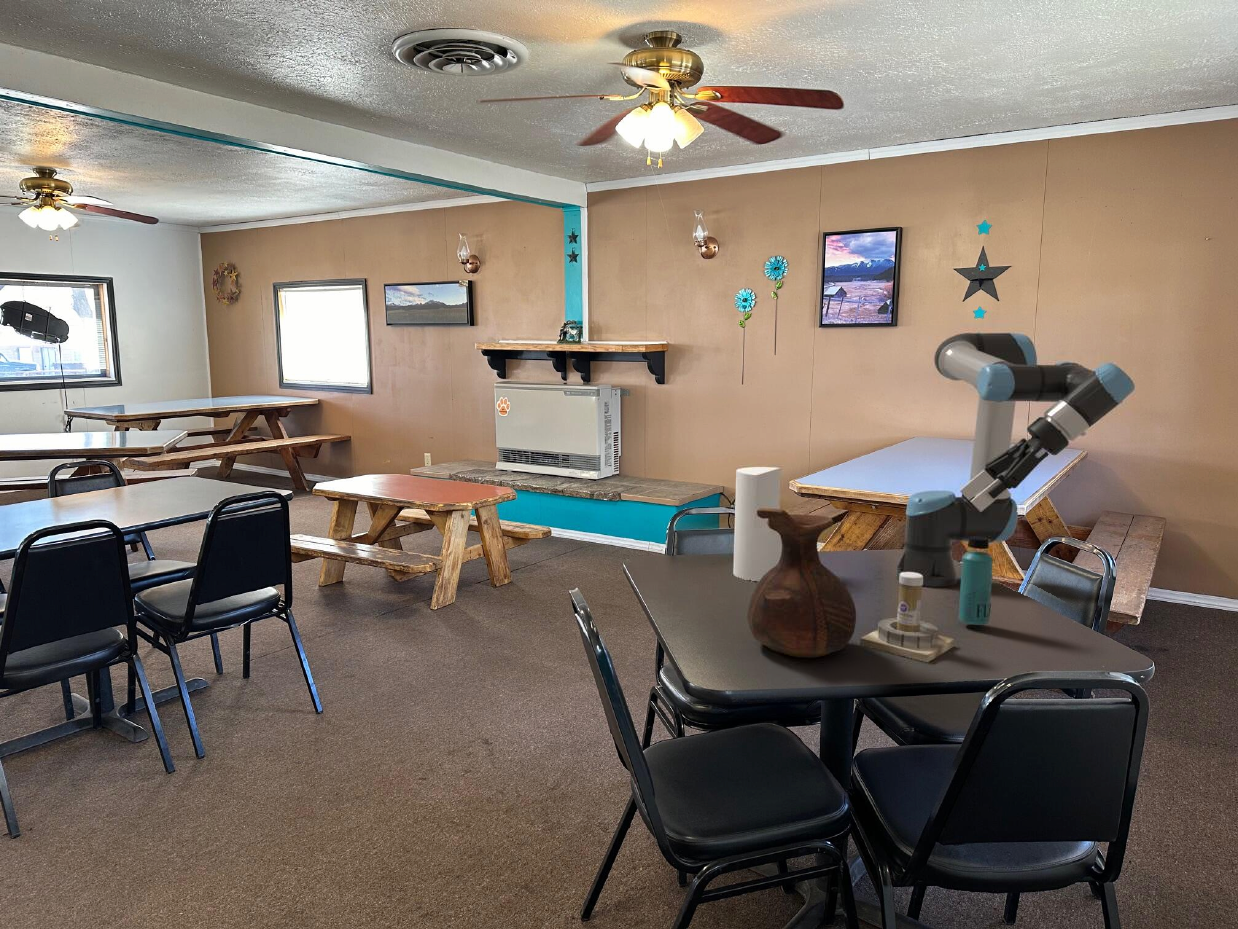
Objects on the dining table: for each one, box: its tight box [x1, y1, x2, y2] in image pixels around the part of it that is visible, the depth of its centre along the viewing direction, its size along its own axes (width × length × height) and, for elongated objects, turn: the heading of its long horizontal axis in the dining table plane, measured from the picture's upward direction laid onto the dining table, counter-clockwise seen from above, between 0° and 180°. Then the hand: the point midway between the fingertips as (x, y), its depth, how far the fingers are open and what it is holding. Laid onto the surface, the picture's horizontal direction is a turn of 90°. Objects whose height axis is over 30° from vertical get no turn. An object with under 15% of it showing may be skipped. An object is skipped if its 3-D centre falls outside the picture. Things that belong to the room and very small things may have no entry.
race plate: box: [859, 617, 955, 663], centre depth 172 cm, size 13×14×4 cm
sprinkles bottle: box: [896, 572, 923, 633], centre depth 171 cm, size 5×5×14 cm
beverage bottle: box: [957, 536, 994, 626], centre depth 183 cm, size 6×7×20 cm
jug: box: [747, 508, 857, 659], centre depth 168 cm, size 22×22×30 cm
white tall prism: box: [732, 466, 782, 583], centre depth 225 cm, size 17×17×28 cm
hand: (969, 500), depth 170 cm, fingers open, 13 cm apart
